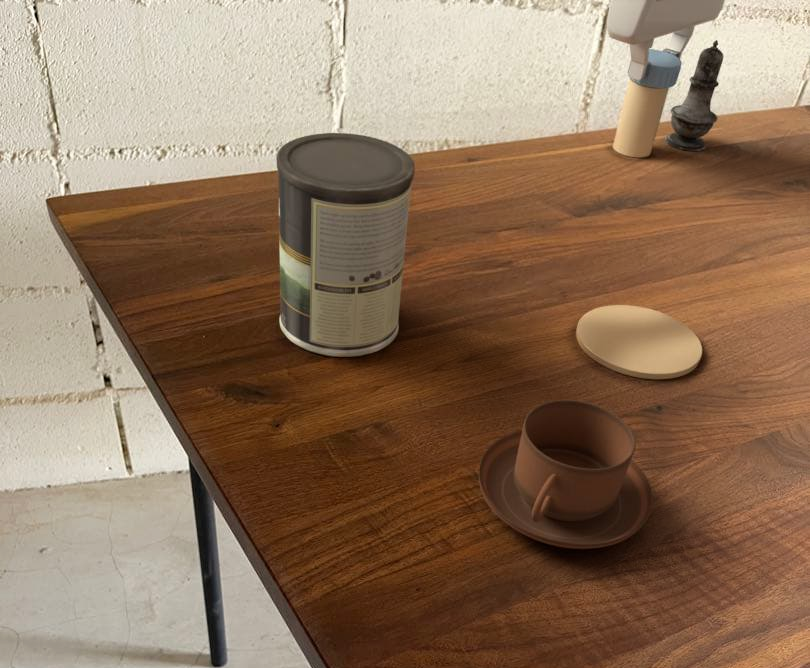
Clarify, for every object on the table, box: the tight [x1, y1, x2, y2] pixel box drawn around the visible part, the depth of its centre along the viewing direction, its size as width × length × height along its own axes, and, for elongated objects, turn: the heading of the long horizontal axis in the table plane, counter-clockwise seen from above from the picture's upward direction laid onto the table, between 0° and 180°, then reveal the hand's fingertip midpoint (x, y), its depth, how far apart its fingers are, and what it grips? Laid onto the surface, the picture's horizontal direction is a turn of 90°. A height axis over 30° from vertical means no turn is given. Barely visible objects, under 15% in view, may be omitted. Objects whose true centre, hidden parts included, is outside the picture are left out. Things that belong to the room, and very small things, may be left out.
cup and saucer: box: [478, 399, 654, 550], centre depth 60 cm, size 12×12×6 cm
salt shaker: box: [664, 39, 724, 152], centre depth 109 cm, size 6×6×12 cm
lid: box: [626, 48, 683, 89], centre depth 103 cm, size 6×6×2 cm
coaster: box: [575, 304, 703, 380], centre depth 78 cm, size 11×11×1 cm
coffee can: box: [275, 132, 416, 358], centre depth 71 cm, size 10×10×14 cm
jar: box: [612, 77, 670, 158], centre depth 107 cm, size 5×5×10 cm
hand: (652, 72), depth 104 cm, fingers closed on lid, 5 cm apart
